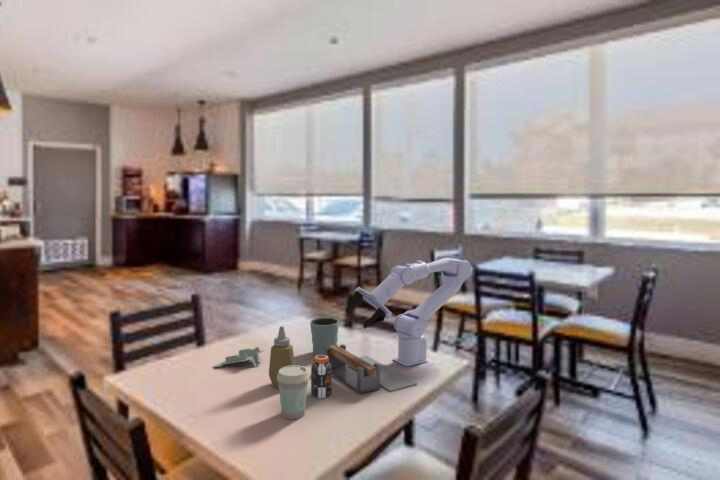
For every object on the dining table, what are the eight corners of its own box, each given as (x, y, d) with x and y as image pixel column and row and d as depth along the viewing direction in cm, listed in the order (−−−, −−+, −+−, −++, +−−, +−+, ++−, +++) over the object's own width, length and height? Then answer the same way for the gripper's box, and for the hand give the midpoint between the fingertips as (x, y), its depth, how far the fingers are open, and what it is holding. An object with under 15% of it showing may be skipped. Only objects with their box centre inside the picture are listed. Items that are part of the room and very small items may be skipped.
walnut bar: (335, 351, 160) (335, 344, 159) (376, 375, 140) (376, 367, 139) (329, 353, 158) (329, 345, 158) (369, 377, 138) (369, 369, 138)
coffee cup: (295, 425, 120) (295, 379, 119) (270, 416, 125) (269, 372, 123) (316, 412, 128) (316, 368, 126) (291, 404, 132) (291, 362, 131)
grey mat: (366, 357, 169) (366, 355, 169) (417, 384, 146) (417, 383, 146) (342, 362, 164) (342, 360, 164) (390, 391, 140) (390, 390, 140)
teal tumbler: (344, 352, 174) (344, 319, 173) (327, 360, 166) (327, 326, 164) (321, 347, 180) (321, 315, 178) (304, 354, 171) (304, 322, 170)
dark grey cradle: (342, 366, 161) (343, 344, 160) (380, 389, 142) (380, 364, 141) (324, 370, 157) (324, 347, 156) (360, 394, 139) (360, 369, 138)
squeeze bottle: (300, 381, 147) (300, 324, 145) (288, 392, 140) (287, 332, 138) (277, 378, 150) (276, 322, 148) (263, 388, 142) (262, 329, 140)
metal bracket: (269, 342, 167) (243, 356, 153) (273, 359, 167) (247, 374, 153) (236, 348, 173) (208, 362, 159) (240, 364, 173) (213, 379, 159)
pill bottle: (328, 399, 135) (328, 361, 134) (308, 397, 136) (308, 359, 135) (334, 391, 141) (334, 353, 140) (314, 389, 142) (314, 352, 141)
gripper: (367, 272, 156) (338, 299, 151) (401, 298, 150) (371, 327, 144) (368, 284, 162) (339, 310, 156) (400, 309, 155) (372, 338, 150)
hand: (355, 319), depth 151 cm, fingers open, 7 cm apart
